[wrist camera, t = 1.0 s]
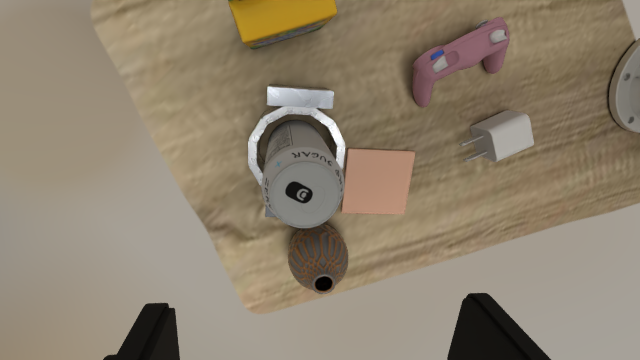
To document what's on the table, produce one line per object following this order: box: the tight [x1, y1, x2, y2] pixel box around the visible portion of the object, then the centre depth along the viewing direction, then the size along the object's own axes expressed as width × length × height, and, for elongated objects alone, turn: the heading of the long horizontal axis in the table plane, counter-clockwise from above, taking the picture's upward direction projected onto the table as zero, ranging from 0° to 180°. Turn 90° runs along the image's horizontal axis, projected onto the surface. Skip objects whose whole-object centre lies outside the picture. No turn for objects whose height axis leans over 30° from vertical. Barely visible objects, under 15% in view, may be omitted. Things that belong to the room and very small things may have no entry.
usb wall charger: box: [459, 110, 534, 162], centre depth 35 cm, size 4×7×4 cm, turn 113°
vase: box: [288, 224, 348, 294], centre depth 35 cm, size 7×7×9 cm
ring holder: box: [248, 84, 345, 217], centre depth 32 cm, size 13×10×5 cm
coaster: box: [341, 148, 415, 214], centre depth 37 cm, size 8×8×1 cm
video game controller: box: [413, 17, 510, 107], centre depth 31 cm, size 10×5×7 cm, turn 115°
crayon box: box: [228, 0, 337, 49], centre depth 25 cm, size 7×3×12 cm, turn 106°
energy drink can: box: [261, 120, 345, 228], centre depth 28 cm, size 6×6×15 cm
